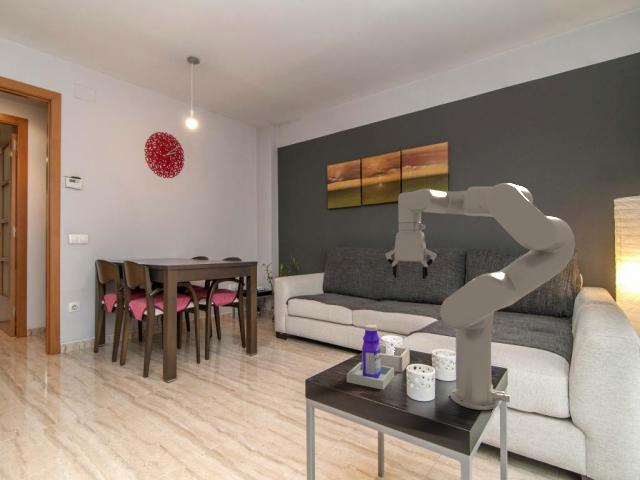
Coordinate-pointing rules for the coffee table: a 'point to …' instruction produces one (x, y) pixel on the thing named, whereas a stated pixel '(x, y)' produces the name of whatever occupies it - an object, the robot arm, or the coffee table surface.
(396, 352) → the box
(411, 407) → the coffee table surface
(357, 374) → the tray
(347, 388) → the coffee table surface
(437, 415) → the coffee table surface
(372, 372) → the bottle
